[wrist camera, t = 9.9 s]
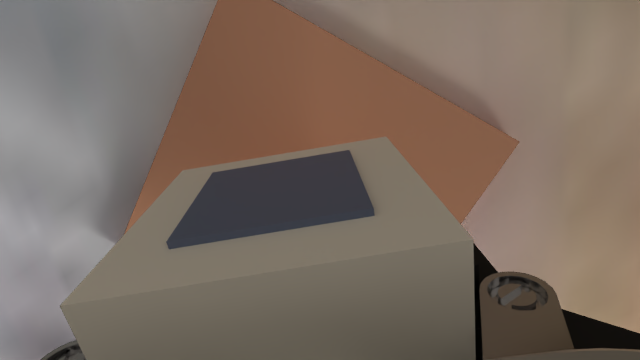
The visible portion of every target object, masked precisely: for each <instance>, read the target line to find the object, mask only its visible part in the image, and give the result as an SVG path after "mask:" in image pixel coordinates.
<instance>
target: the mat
mask: <svg viewBox="0 0 640 360" xmlns="http://www.w3.org/2000/svg"><path fill="white" fill-rule="evenodd" d="M380 137H387V138H388V139H389V140H390V141H391V143H392V144H393V145H394V146H395V147H396V149H397V150H398V151H399V152H400V153H401V154H402V156H403V157H404V158H405V159H406V160H407V162H408V163H409V164H410V165H411V166H412V167H413V169H414V170H415V171H416V172H417V173H418V174H419V176H420V177H421V178H422V179H423V180H424V182H425V183H426V184H427V185H428V186H429V187H430V189H431V190H432V191H433V192H434V193H435V195H436V196H437V197H438V198H439V199H440V200H441V202H442V203H443V204H444V205H445V206H446V208H447V209H448V210H449V211H450V212H451V213H452V215H453V216H454V217H455V218H456V219H457V220H458V222H459V223H460V224H461V223H462V221H463V220H464V219H465V217H466V216H467V215H468V213H469V212H470V210H471V209H472V208H473V206H474V205H475V203H476V202H477V201H478V199H479V198H480V196H481V195H482V194H483V192H484V191H485V189H486V188H487V187H488V185H489V184H490V182H491V181H492V180H493V178H494V177H495V176H496V174H497V173H498V171H499V170H500V169H501V167H502V166H503V164H504V163H505V162H506V160H507V159H508V157H509V156H510V155H511V153H512V152H513V150H514V149H515V148H516V146H517V145H518V143H519V141H517V140H516V139H514V138H512V137H510V136H509V135H507V134H505V133H503V132H502V131H500V130H498V129H496V128H495V127H493V126H491V125H489V124H488V123H486V122H484V121H482V120H481V119H479V118H477V117H475V116H474V115H472V114H470V113H468V112H467V111H465V110H463V109H461V108H460V107H458V106H456V105H454V104H453V103H451V102H449V101H447V100H446V99H444V98H442V97H440V96H439V95H437V94H435V93H433V92H432V91H430V90H428V89H426V88H425V87H423V86H421V85H419V84H418V83H416V82H414V81H413V80H411V79H409V78H407V77H406V76H404V75H402V74H400V73H399V72H397V71H395V70H393V69H392V68H390V67H388V66H386V65H385V64H383V63H381V62H379V61H378V60H376V59H374V58H372V57H371V56H369V55H367V54H365V53H364V52H362V51H360V50H358V49H357V48H355V47H353V46H351V45H350V44H348V43H346V42H344V41H343V40H341V39H339V38H337V37H336V36H334V35H332V34H330V33H329V32H327V31H325V30H323V29H322V28H320V27H318V26H316V25H315V24H313V23H311V22H309V21H308V20H306V19H304V18H302V17H301V16H299V15H297V14H295V13H294V12H292V11H290V10H288V9H287V8H285V7H283V6H281V5H280V4H278V3H276V2H274V1H273V0H218V2H217V4H216V6H215V9H214V11H213V14H212V16H211V19H210V21H209V24H208V26H207V29H206V31H205V34H204V36H203V39H202V41H201V44H200V46H199V49H198V51H197V54H196V56H195V59H194V61H193V64H192V66H191V69H190V71H189V74H188V76H187V79H186V81H185V84H184V86H183V89H182V91H181V94H180V96H179V99H178V101H177V104H176V106H175V109H174V111H173V114H172V116H171V119H170V121H169V124H168V126H167V129H166V131H165V134H164V136H163V139H162V141H161V143H160V146H159V148H158V151H157V153H156V156H155V158H154V161H153V163H152V166H151V168H150V171H149V173H148V176H147V178H146V181H145V183H144V186H143V188H142V191H141V193H140V196H139V198H138V201H137V203H136V206H135V208H134V211H133V213H132V216H131V218H130V221H129V223H128V226H127V228H126V231H125V233H126V232H127V231H128V230H129V229H130V228H131V227H132V226H133V225H134V223H135V222H136V221H137V220H138V219H139V218H140V217H141V216H142V215H143V214H144V212H145V211H146V210H147V209H148V208H149V207H150V206H151V205H152V204H153V202H154V201H155V200H156V199H157V198H158V197H159V196H160V195H161V194H162V193H163V191H164V190H165V189H166V188H167V187H168V186H169V185H170V184H171V183H172V181H173V180H174V179H175V178H176V177H177V176H178V175H179V174H180V173H181V172H182V170H188V169H194V168H200V167H206V166H212V165H218V164H224V163H230V162H236V161H242V160H248V159H254V158H260V157H266V156H272V155H278V154H284V153H290V152H296V151H302V150H308V149H314V148H320V147H326V146H332V145H338V144H344V143H350V142H356V141H362V140H368V139H374V138H380ZM125 233H124V234H125Z"/></svg>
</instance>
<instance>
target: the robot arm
mask: <svg viewBox="0 0 640 360" xmlns="http://www.w3.org/2000/svg"><path fill="white" fill-rule="evenodd" d="M473 245H474V298H475V352H476V360H640V333H636V332H633V331H630V330H627V329H624V328H620V327H617V326H614V325H611V324H608V323H604V322H601V321H598V320H595V319H592V318H588V317H585V316H582V315H579V314H576V313H572V312H569V311H566V310H563V309H561V306H560V303H559V300H558V297H557V295H556V293H555V291H554V290H553V288H552V287H551V286H550V285H548V284H547V283H546V282H545V281H543V280H541V279H539V278H537V277H535V276H532V275H529V274H525V273H520V272H499V273H498V272H497V271H496V269H495V268H494V267H493V266H492V265H491V263H490V262H489V261H488V260H487V259H486V257H485V256H484V255H483V254H482V253H481V251H480V250H479V249H478V248H477V247H476V245H475V244H474V243H473ZM41 360H86V358H85V356H84V354H83V352H82V350H81V348H80V346H79V344H78V342H77V340H76V341H72V342H69V343H67V344H65V345H63V346H60V347H58V348H57V349H55V350H53V351H52V352H50V353H48V354H47V355H46V356H44V357H43V358H42V359H41Z"/></svg>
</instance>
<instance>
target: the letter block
mask: <svg viewBox="0 0 640 360" xmlns="http://www.w3.org/2000/svg"><path fill="white" fill-rule="evenodd" d="M60 308H61V310H62V312H63V314H64V316H65V318H66V320H67V322H68V324H69V326H70V328H71V330H72V332H73V334H74V336H75V338H76V340H77V342H78V344H79V346H80V348H81V350H82V352H83V354H84V356H85V358H86V360H476V352H475V298H474V245H473V238H472V237H471V236H470V235H469V233H468V232H467V231H466V230H465V229H464V228H463V226H462V225H461V224H460V223H459V222H458V220H457V219H456V218H455V217H454V216H453V215H452V213H451V212H450V211H449V210H448V209H447V208H446V206H445V205H444V204H443V203H442V202H441V200H440V199H439V198H438V197H437V196H436V195H435V193H434V192H433V191H432V190H431V189H430V187H429V186H428V185H427V184H426V183H425V182H424V180H423V179H422V178H421V177H420V176H419V174H418V173H417V172H416V171H415V170H414V169H413V167H412V166H411V165H410V164H409V163H408V162H407V160H406V159H405V158H404V157H403V156H402V154H401V153H400V152H399V151H398V150H397V149H396V147H395V146H394V145H393V144H392V143H391V141H390V140H389V139H388V138H387V137H380V138H374V139H368V140H362V141H356V142H350V143H344V144H338V145H332V146H326V147H320V148H314V149H308V150H302V151H296V152H290V153H284V154H278V155H272V156H266V157H260V158H254V159H248V160H242V161H236V162H230V163H224V164H218V165H212V166H206V167H200V168H194V169H188V170H182V172H181V173H180V174H179V175H178V176H177V177H176V178H175V179H174V180H173V181H172V183H171V184H170V185H169V186H168V187H167V188H166V189H165V190H164V191H163V193H162V194H161V195H160V196H159V197H158V198H157V199H156V200H155V201H154V202H153V204H152V205H151V206H150V207H149V208H148V209H147V210H146V211H145V212H144V214H143V215H142V216H141V217H140V218H139V219H138V220H137V221H136V222H135V223H134V225H133V226H132V227H131V228H130V229H129V230H128V231H127V232H126V233H125V234H124V236H123V237H122V238H121V239H120V240H119V241H118V242H117V243H116V244H115V246H114V247H113V248H112V249H111V250H110V251H109V252H108V253H107V254H106V255H105V257H104V258H103V259H102V260H101V261H100V262H99V263H98V264H97V265H96V267H95V268H94V269H93V270H92V271H91V272H90V273H89V274H88V275H87V276H86V278H85V279H84V280H83V281H82V282H81V283H80V284H79V285H78V286H77V288H76V289H75V290H74V291H73V292H72V293H71V294H70V295H69V296H68V297H67V299H66V300H65V301H64V302H63V303H62V304H61V305H60Z"/></svg>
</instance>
